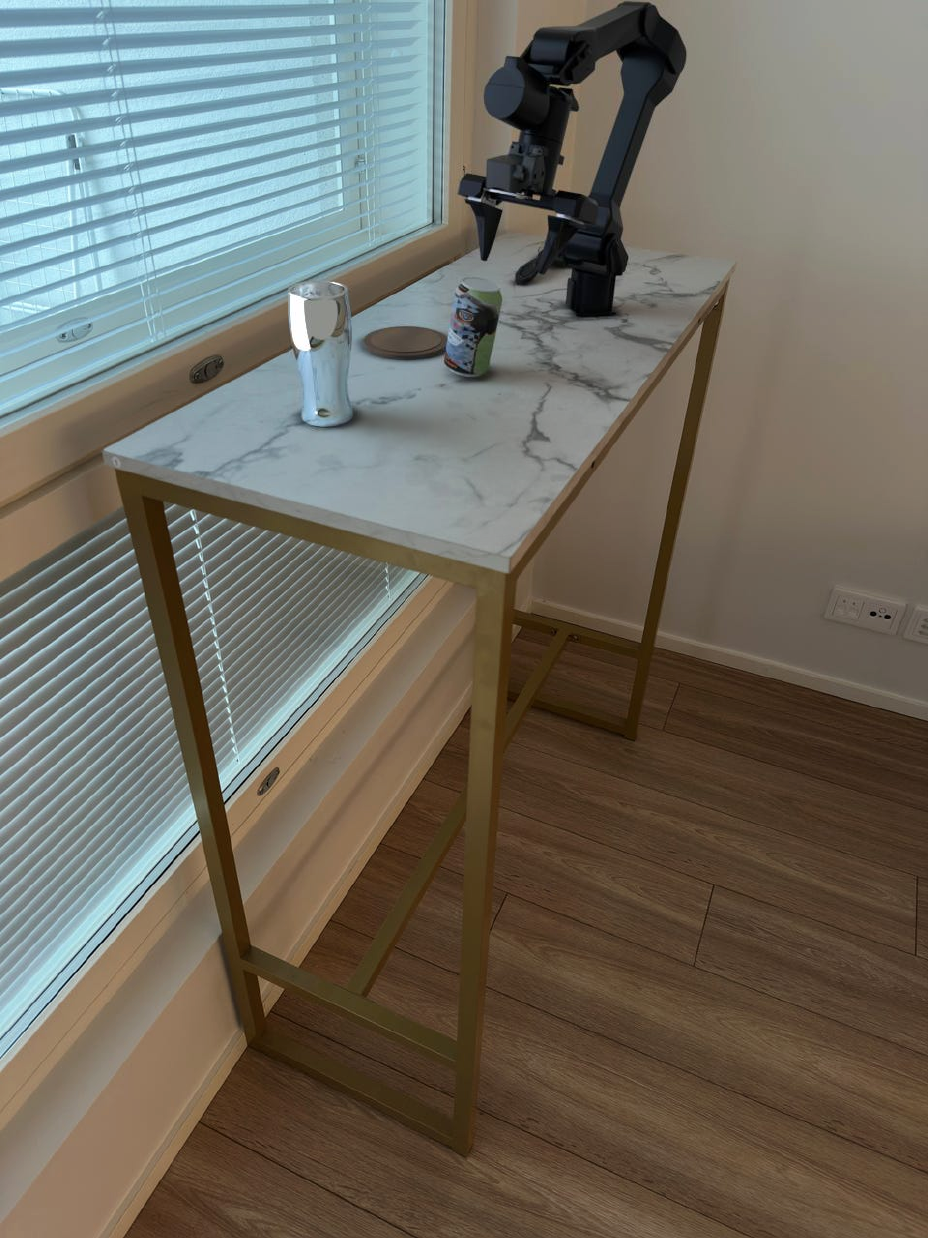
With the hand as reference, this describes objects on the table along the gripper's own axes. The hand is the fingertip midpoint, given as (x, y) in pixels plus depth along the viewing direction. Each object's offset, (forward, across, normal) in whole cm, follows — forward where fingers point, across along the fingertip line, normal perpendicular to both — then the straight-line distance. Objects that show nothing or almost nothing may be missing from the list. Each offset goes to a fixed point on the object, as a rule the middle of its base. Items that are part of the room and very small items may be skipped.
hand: (511, 267), depth 122 cm
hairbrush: (-2, -16, +40) cm, 44 cm away
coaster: (+13, -12, -4) cm, 18 cm away
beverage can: (+14, +1, -7) cm, 16 cm away
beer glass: (+22, -4, -27) cm, 35 cm away
